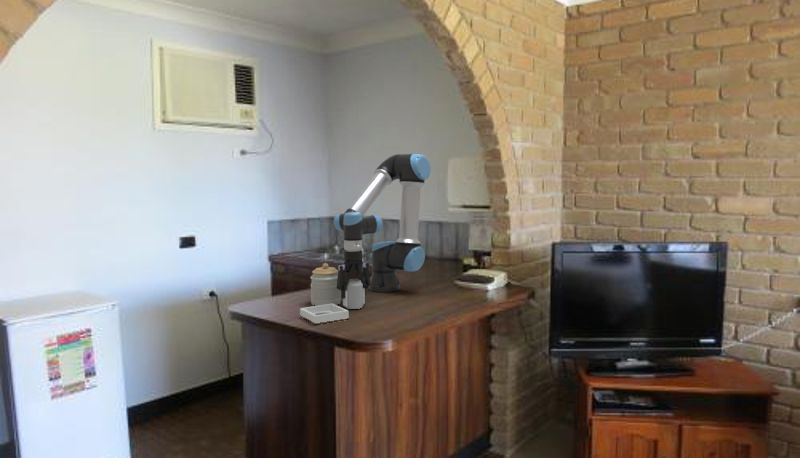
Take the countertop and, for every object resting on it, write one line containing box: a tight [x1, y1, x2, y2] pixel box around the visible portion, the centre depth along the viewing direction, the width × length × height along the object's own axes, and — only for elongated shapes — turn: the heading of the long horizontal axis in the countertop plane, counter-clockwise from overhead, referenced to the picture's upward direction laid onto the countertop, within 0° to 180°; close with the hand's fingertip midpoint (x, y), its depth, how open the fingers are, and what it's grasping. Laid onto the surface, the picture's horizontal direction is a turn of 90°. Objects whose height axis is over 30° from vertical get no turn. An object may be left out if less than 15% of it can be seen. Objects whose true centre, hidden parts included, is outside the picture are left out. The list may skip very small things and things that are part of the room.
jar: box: [309, 262, 342, 306], centre depth 233 cm, size 13×13×18 cm
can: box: [344, 278, 364, 310], centre depth 225 cm, size 8×8×12 cm
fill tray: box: [299, 304, 350, 323], centre depth 211 cm, size 14×14×4 cm
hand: (353, 304), depth 226 cm, fingers closed on can, 7 cm apart
